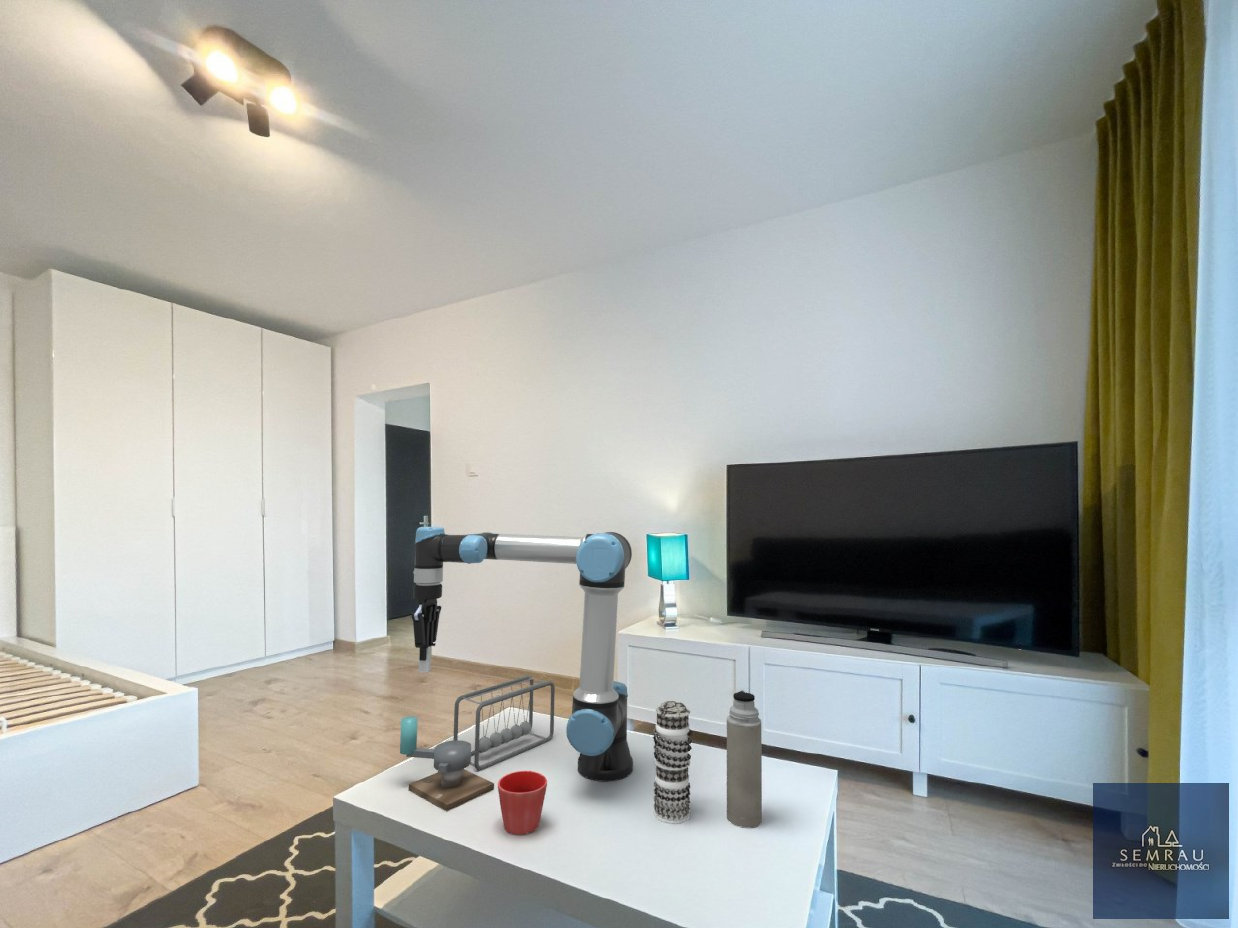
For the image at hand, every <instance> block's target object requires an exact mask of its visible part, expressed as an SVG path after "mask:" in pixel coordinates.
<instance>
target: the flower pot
mask: <svg viewBox="0 0 1238 928" xmlns="http://www.w3.org/2000/svg"><path fill="white" fill-rule="evenodd" d="M547 786H548V779H547V778H546V776H545V775H543V774H542V773H540V772H536V771H534V770H533V771H532V770H519V771H514V772H510V773H507V774H505V775H503V776H502V777H501V778H500V779H499V780H498V781H497V791H498V797H499V798H498V799H499V805H500V812H501V817H502V818H501V819H502V821H503V822H502V823H503V827H504V830H505V831H506V833H508V834H511V835H516V836H523V835H528V834H531V833H533V832H535V831H536V830H537V829H538V828H539V826H540V821H541V816H542V813H543V808H544V802H545V798H546V797H545V796H546V791H547Z"/></svg>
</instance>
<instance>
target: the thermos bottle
mask: <svg viewBox="0 0 1238 928" xmlns="http://www.w3.org/2000/svg"><path fill="white" fill-rule="evenodd" d="M732 697H733V702H732V703H733V705H732V706H730V707H729V712H728V714H729V715H727V716H726V818H727V819H726V820H727V821H728V822H729V821H730V822H731V823H730V822H729V823H730V824H732V825H733V826H736V827H738V826H742V827H741V828H743V827H753V828H755V827H754V826H757V827H759V826H760V825H761V824H762V822H763V806H762V805H763V804H762V802H763V801H762V800H763V799H762V795H763V790H762V789H763V788H762V787H763V784H762V783H763V782H762V781H763V780H762V778H763V775H762V771H763V769H762V765H763V764H762V758H763V757H762V752H763V750H762V744H763V743H762V741H763V740H762V719H761V718H760V717H759V716H760V713H759V709H757V707H756V706H755V700H756V699H755V695H754V694H753V693H749V692H743V691H740V692H739V691H738V692H735V693H733V696H732Z"/></svg>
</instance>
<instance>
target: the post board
mask: <svg viewBox="0 0 1238 928" xmlns="http://www.w3.org/2000/svg"><path fill="white" fill-rule="evenodd" d="M494 790H495V782H492V781H490V780H488V779H486V778H484V777H482V776H479V775H478V774H475V773H473V772H471V771H469V770H466V768H464V769H462V770H459V771H454V772H446V773H438V771H437V772H435V773H433V774H430V775H428V776H425V777H422V778H421V779H418V780H414V781H413V782H410V783H408V791H409V792H411V793H412V794H415V795H417V796H418V797H420V798H422V799H424V800H425V801H427V802H429V803H430V804H433V805H435V806H437V807H438V808H439V809H441V810H443V811H445V812H448V811H451V810H453V809H456V808H457V807H459V806H462V805H464V804H466V803H468V802H470V801H472V800H475V799H477V798H479V797H481V796H483V795H485V794H487V793H489V792H492V791H494Z"/></svg>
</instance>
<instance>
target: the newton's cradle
mask: <svg viewBox="0 0 1238 928" xmlns="http://www.w3.org/2000/svg"><path fill="white" fill-rule="evenodd" d="M534 681H537V682H539V683H534ZM525 682H529V685H528V684H527V683H525ZM518 684H522V685H523V684H524V685H527V686H526V687H524V688H523V687H522V686H520V687H518V686H516V685H518ZM549 686H550V712H549V714H550V716H549V717H550V721H549V723H550V725H549V734H548V736H547V737H544V736H541V735H538V734H535V733H532V728H533V723H534V722H533V719H534V715H533V714H534V713H533V712H534V691H536V690H540V689H542V688H545V687H549ZM508 687H511V690H510V691H509V690H508V689H507V688H508ZM513 687H514V688H517V690H514V691H513ZM505 688H506V689H505ZM555 688H556V687H555V683H554V682H553V681H547V682H546V681H545V680H540V679H536V678H534V677H532V676H531V675H526V676H523V677H520V678H516V679H513V680H509V681H506V682H501V683H499V684H496V685H492V686H489V687H485V688H482V689H479V690H475V691H472V692H469V693H466V694H463V695H460V696H458V697H457V698H456V700H455V702H454V710H453V711H454V713H453V715H454V717H453V721H454V722H453V740H452V741H454V740H459V739H458V738H459V733H458V732H459V708H460V706H459V705H460V702H461V701H463V700H466V701H469V702H472V703H475V704H477V705H478V706H477V708H476V711H475V729H474V730H475V732H474V733H475V734H474V750H471V757H473V756H474V763H473V762H472V761H471V763H470V765H472V766H474V768H475V769H476V770H477V771H483V770H485V769H488V768H491V767H492V766H495V765H497V764H499V763H501V762H503V761H506V760H508V759H511V758H513V757H515V756H517V755H520V754H521V753H522V754H523V753H524V752H527V751H529V750H531V749H533V748H536V747H538V746H541V745H543V744H545V743H548V742H549V741H551V740H552V738H553V736H554V733H555V692H556V691H555ZM499 690H505V691H508V693H504V694H503V693H496V692H497V691H499ZM489 693H491V694H493V693H494V694H496V695H498V696H495V697H488V696H487V695H486V694H489ZM528 693H529V700H528V708H527V710H528V711H527V714H526V717H528V718H525V716H523V720H524V721H523V722H521V723H520V724H518V722H519V715H520V712H518V714H517V720H516V718H515V717H516V716H515V714H513V717H514V721H516V723H514V725H512V726H511V727H510V728H508V726H509V724H507V725H504V729H502V730H501V731H500V733H499V732H498V731H499V723H500V720H498V723H497V728H496V720H495V719H493V723H494V728H496V731H494V732H493V733H492V734H491V735H490V736H489V737H487V735H485V734H487V733H488V727H489V723H490V722H489V721H490V718H488V719H487V726H486V731H485V729H484V726H482V732H483V736H482V737H480V732H481V731H480V730H481V727H480V726H481V717H482V721H484V716H483V715H484V714H483V713H484V712H483V709H484V707H488V706H493V705H494V704H497V703H500V702H501V703H500V709H499V713H501V711H502V708H503V712H505V707H504V704H503V702H504V701H506V700H509V699H511V701H510V704H512V705H510V708H509V710H511V708H512V706H513V709H512V710H513V711H515V705H514V703H513V700H514V698H515V697H518V696H520V699H521V700H520V701H519V705H521V704H522V703H524V698H523V695H524V694H528ZM476 697H480V701H476V700H472V699H473V698H476ZM482 697H487V698H488V699H484V700H482V699H483V698H482ZM520 709H521V706H519V708H518V711H520ZM491 711H492V715H493V716H495V710H494V708H492V707H490V709H489V712H488V713H489V714H488V717H490V716H491ZM522 711H523V713H525V708H524V706H522ZM510 714H511V711H509V713H508V716H510ZM505 717H506V716H505V714H503V719H504V722H506V719H505ZM500 718H501V714H499V715H498V719H500ZM527 720H528V721H527ZM509 721H510V717H508V719H507V723H509ZM529 734H530V735H532V736H535V737H538V738H541V739H540V740H538V741H535V742H533V743H531V744H528V745H526V746H523V747H522V748H519V749H515V751H512V752H510V753H508V754H505V755H503V756H500V757H498V758H495V759H492V760H491V761H488V762H487V763H484V764H481V765H480V764H479V762H480V761H479V759H480V754H481V753H482V752H483V753H484V752H486V751H489V750H490V749H492V748H495V747H499V746H501V745H503V744H504V743H508V742H511V741H512V740H515V739H519V738H520V737H522V736H526V735H529Z"/></svg>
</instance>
